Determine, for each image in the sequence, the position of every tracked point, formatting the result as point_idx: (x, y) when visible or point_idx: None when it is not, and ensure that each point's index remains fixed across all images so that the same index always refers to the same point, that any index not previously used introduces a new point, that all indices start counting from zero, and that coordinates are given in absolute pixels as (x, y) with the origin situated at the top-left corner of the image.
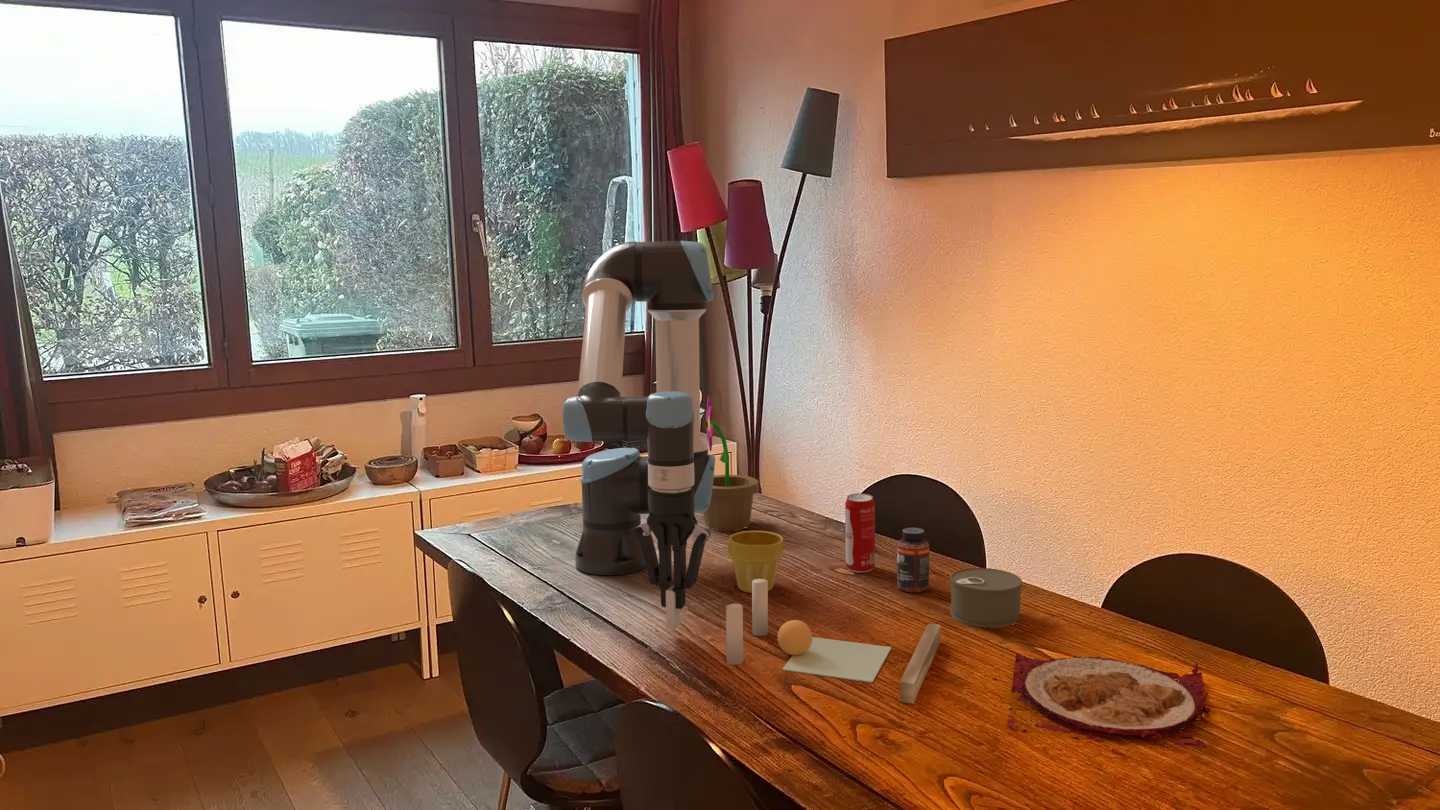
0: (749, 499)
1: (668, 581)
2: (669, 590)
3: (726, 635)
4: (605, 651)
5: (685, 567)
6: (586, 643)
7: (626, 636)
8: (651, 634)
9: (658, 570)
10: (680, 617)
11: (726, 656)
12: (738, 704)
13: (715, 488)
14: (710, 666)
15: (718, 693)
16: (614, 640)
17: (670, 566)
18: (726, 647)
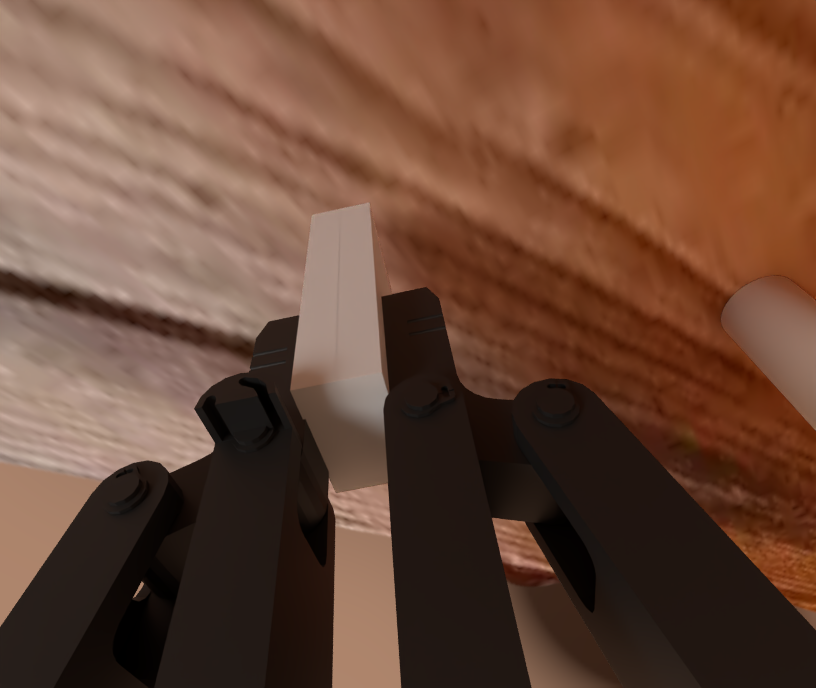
0: None
1: (301, 493)
2: (361, 478)
3: (805, 419)
4: None
5: (506, 587)
6: (84, 460)
7: (144, 336)
8: (223, 255)
9: (128, 591)
10: (373, 230)
11: (737, 344)
12: (813, 509)
13: None
14: (665, 383)
15: (743, 494)
16: (144, 392)
17: (289, 639)
18: (764, 373)
